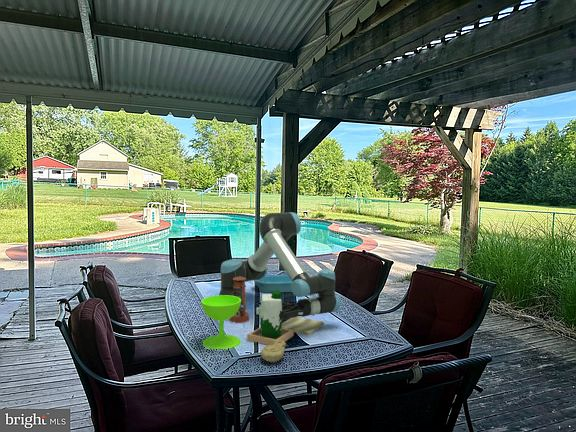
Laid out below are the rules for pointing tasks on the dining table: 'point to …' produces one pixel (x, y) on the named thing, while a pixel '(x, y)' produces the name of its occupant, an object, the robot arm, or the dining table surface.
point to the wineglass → (221, 319)
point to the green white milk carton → (271, 315)
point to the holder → (268, 341)
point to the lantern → (241, 314)
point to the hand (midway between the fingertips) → (260, 313)
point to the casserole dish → (275, 283)
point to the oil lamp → (273, 351)
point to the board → (302, 325)
